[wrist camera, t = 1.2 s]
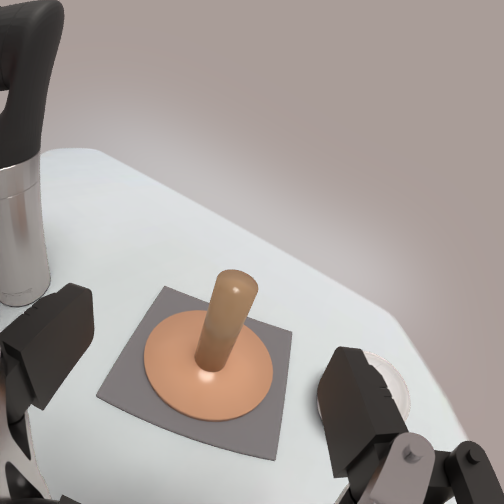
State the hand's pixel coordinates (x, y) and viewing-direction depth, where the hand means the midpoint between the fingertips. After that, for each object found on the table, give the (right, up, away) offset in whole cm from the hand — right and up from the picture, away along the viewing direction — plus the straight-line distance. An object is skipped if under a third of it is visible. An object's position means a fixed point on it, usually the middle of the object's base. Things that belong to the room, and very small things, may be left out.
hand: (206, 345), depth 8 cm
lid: (-3, -9, +21) cm, 23 cm away
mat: (-3, -10, +21) cm, 23 cm away
